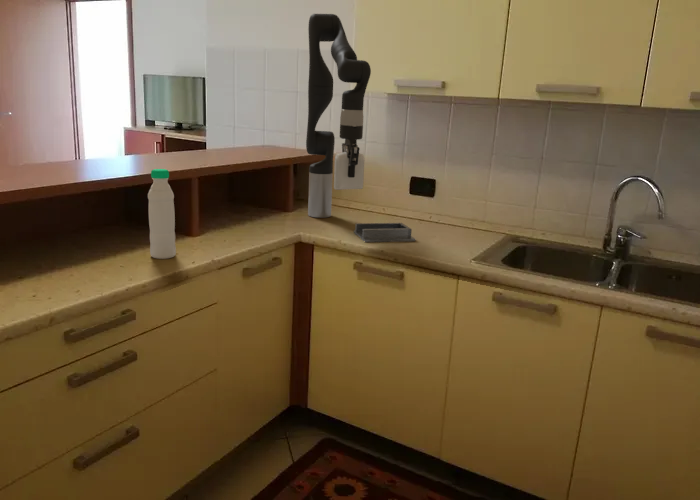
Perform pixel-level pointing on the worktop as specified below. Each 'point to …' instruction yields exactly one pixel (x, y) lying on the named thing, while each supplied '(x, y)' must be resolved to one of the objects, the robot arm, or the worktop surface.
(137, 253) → the worktop surface
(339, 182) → the photo printer
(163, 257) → the water bottle
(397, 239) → the bracket
